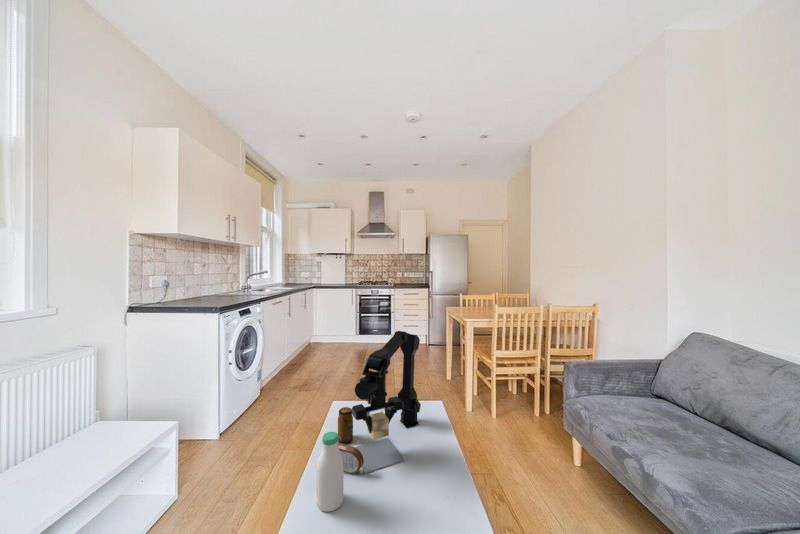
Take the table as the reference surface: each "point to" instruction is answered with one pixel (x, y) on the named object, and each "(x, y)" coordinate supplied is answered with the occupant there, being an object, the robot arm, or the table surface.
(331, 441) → the milk bottle
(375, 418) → the oak cube
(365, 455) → the slate mat
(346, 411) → the condiment
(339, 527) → the table surface
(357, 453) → the tin
